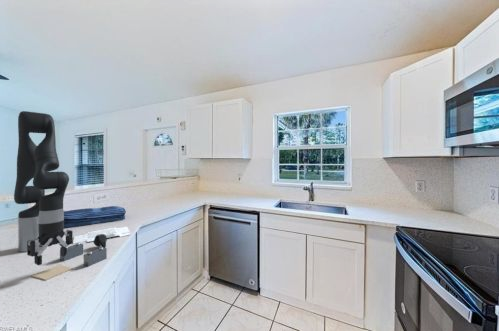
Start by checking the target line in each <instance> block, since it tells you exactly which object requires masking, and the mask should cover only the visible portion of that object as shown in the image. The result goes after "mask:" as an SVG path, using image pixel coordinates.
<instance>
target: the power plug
mask: <svg viewBox="0 0 499 331" xmlns="http://www.w3.org/2000/svg"><path fill="white" fill-rule="evenodd" d="M107 241H108V238H107V237H106V235H104V234H100V235H97V236H96V237H95V239H94V241H93V245H94V246H96V247H103V248H106V247H107Z"/></svg>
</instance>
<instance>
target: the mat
mask: <svg viewBox="0 0 499 331" xmlns="http://www.w3.org/2000/svg"><path fill="white" fill-rule="evenodd" d="M72 270H74V268H73V267H70V266H67V265H62V264H57V265H55V266H51V267H49V268H47V269H44V270H41V271H39V272H36V273H34V274H32V275H31V277H32V278H36V279H39V280H43V281H48V280H51V279H53V278H55V277H58V276H61V275H62V274H64V273H65V274H66V273H67V272H70V271H72Z"/></svg>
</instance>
